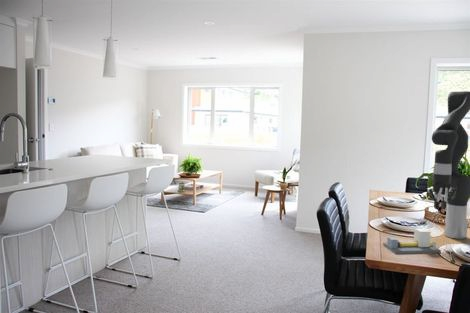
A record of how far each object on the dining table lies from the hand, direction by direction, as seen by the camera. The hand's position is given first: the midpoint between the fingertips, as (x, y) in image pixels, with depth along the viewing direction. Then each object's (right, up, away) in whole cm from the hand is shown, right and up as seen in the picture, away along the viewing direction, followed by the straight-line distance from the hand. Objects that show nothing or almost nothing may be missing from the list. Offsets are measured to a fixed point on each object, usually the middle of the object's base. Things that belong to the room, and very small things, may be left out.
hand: (439, 208), depth 193 cm
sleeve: (-8, -17, +1) cm, 19 cm away
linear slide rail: (-13, -19, +1) cm, 23 cm away
